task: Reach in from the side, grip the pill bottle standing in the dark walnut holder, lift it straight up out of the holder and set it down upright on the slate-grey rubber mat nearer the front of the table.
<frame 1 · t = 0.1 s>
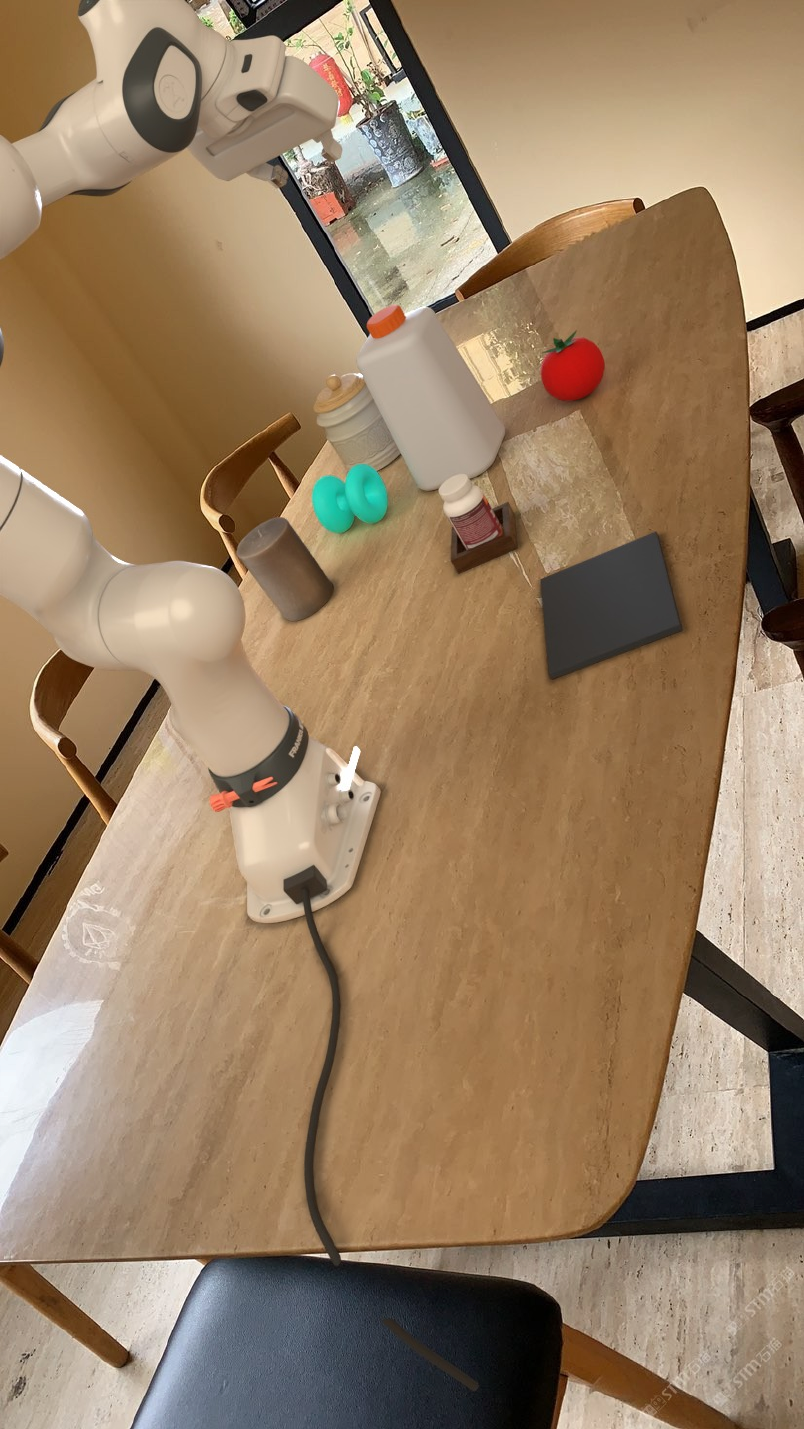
hand: (309, 169, 125), 54 cm above the table, tool tilted 30°, fingers open, 8 cm apart
jar: (379, 457, 196), on the table
tomato: (584, 395, 172), on the table
pill bottle: (487, 544, 153), resting in holder
holder: (487, 543, 153), on the table
plastic bottle: (464, 462, 176), on the table
mat: (607, 605, 128), on the table
pillar candle: (309, 602, 169), on the table
teal spool: (365, 522, 179), on the table
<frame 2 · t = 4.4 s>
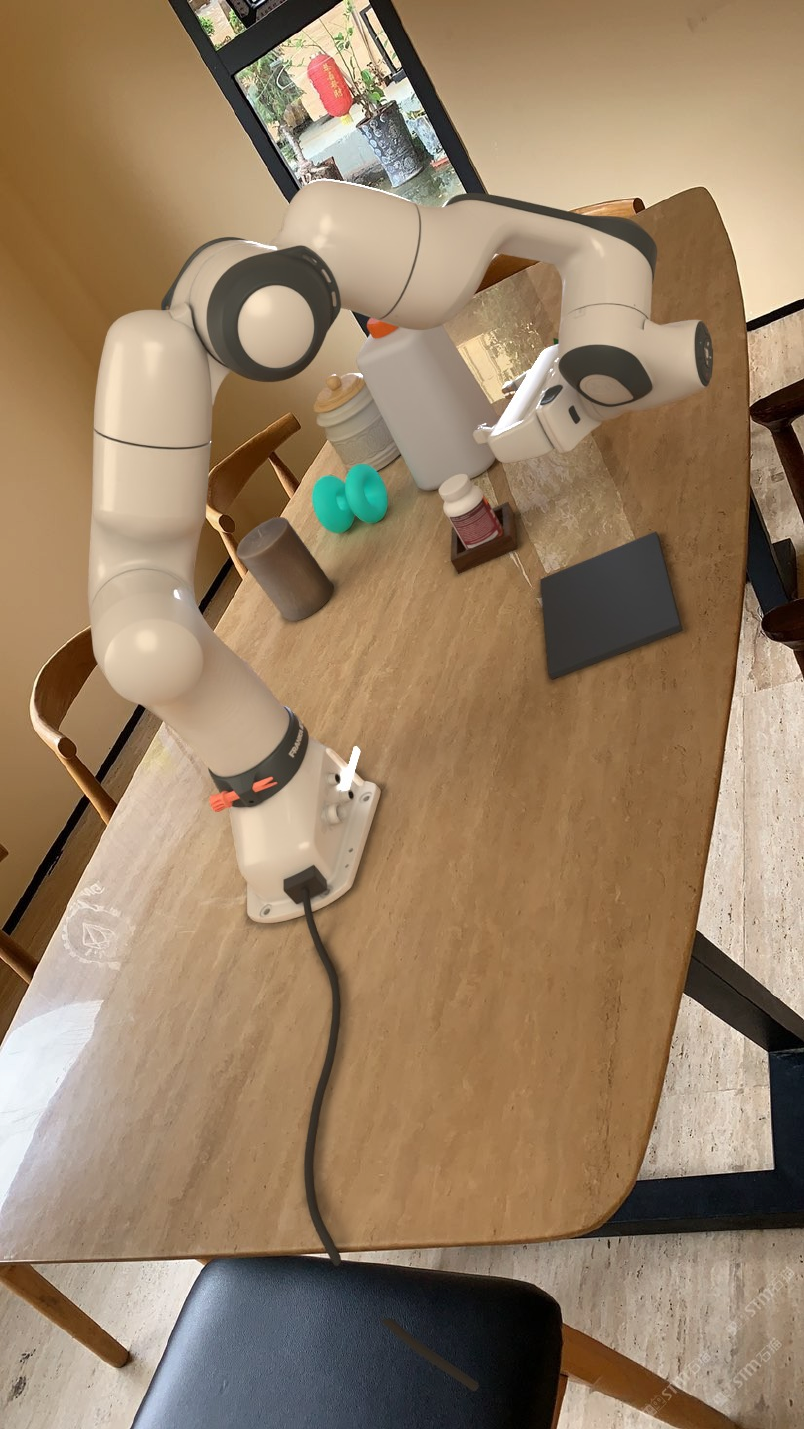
hand: (491, 413, 134), 20 cm above the table, tool horizontal, fingers open, 8 cm apart
nothing on the table moved.
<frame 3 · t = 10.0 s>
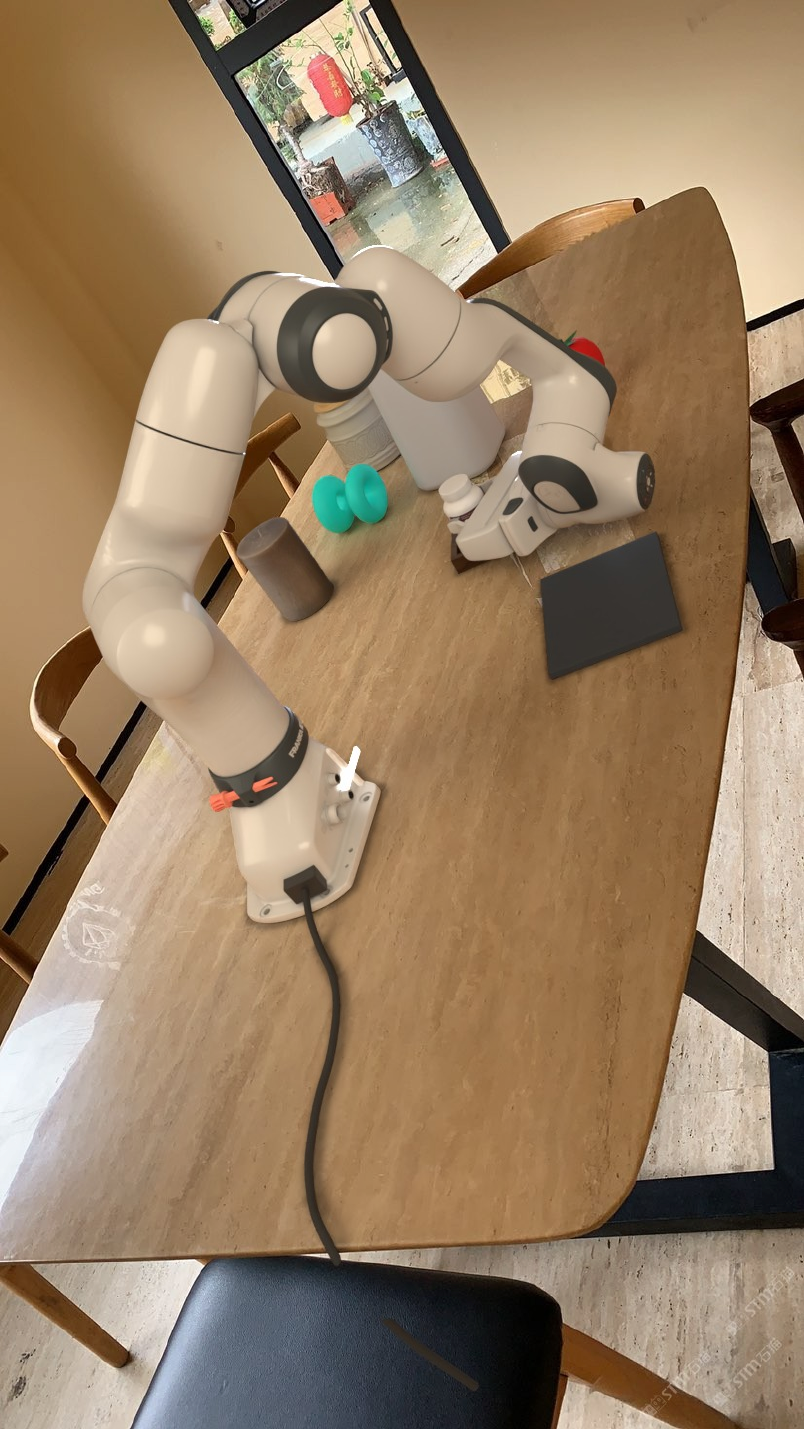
hand: (462, 509, 150), 7 cm above the table, tool horizontal, fingers closed on pill bottle, 6 cm apart
pill bottle: (487, 544, 153), resting in holder, touching gripper
everything else where it was.
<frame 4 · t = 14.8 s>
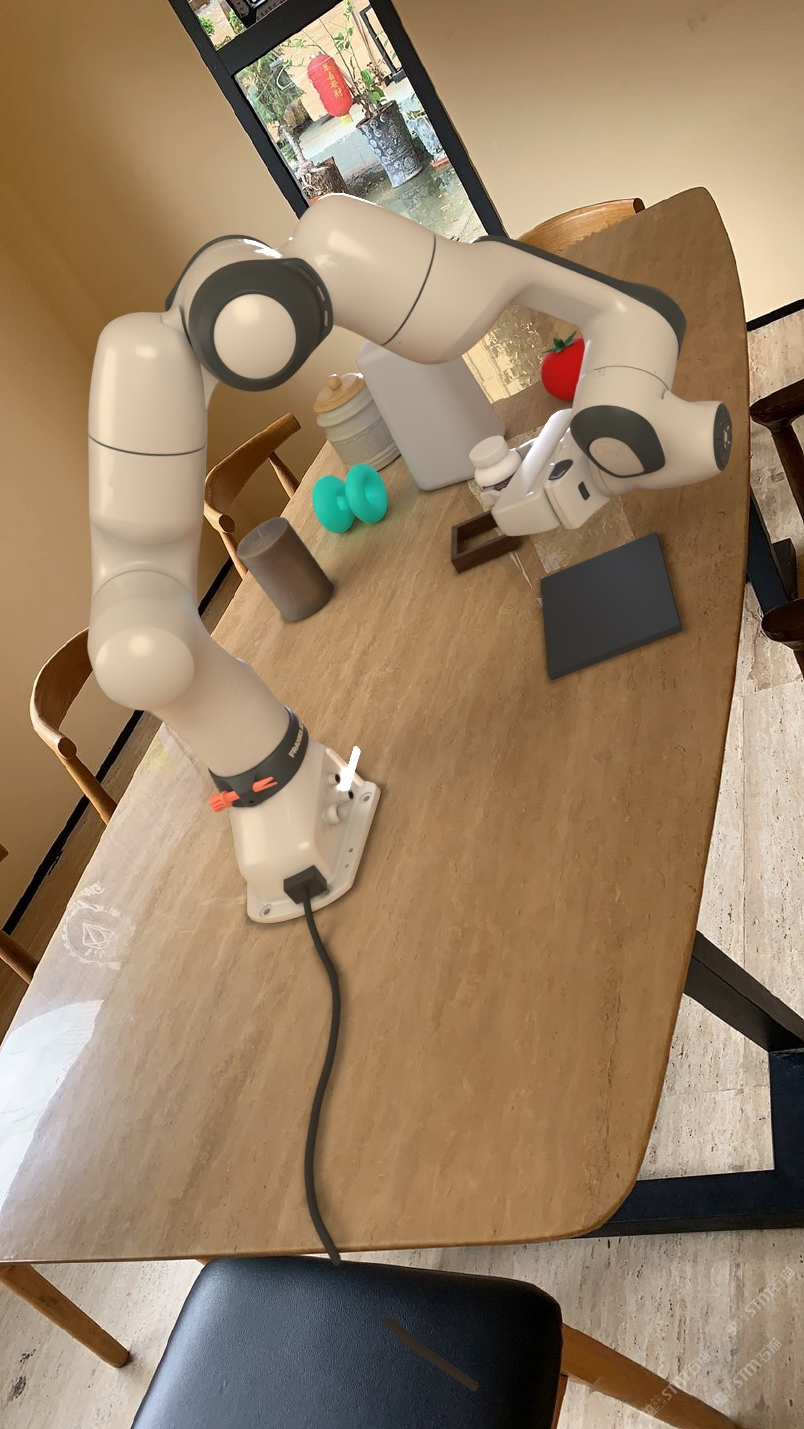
hand: (496, 477, 128), 17 cm above the table, tool horizontal, fingers closed on pill bottle, 6 cm apart
pill bottle: (525, 519, 131), point 10 cm above the table, touching gripper
everything else where it was.
when the fingers open (8 cm above the table, at t = 19.4 s): pill bottle stays where it is, resting on mat.
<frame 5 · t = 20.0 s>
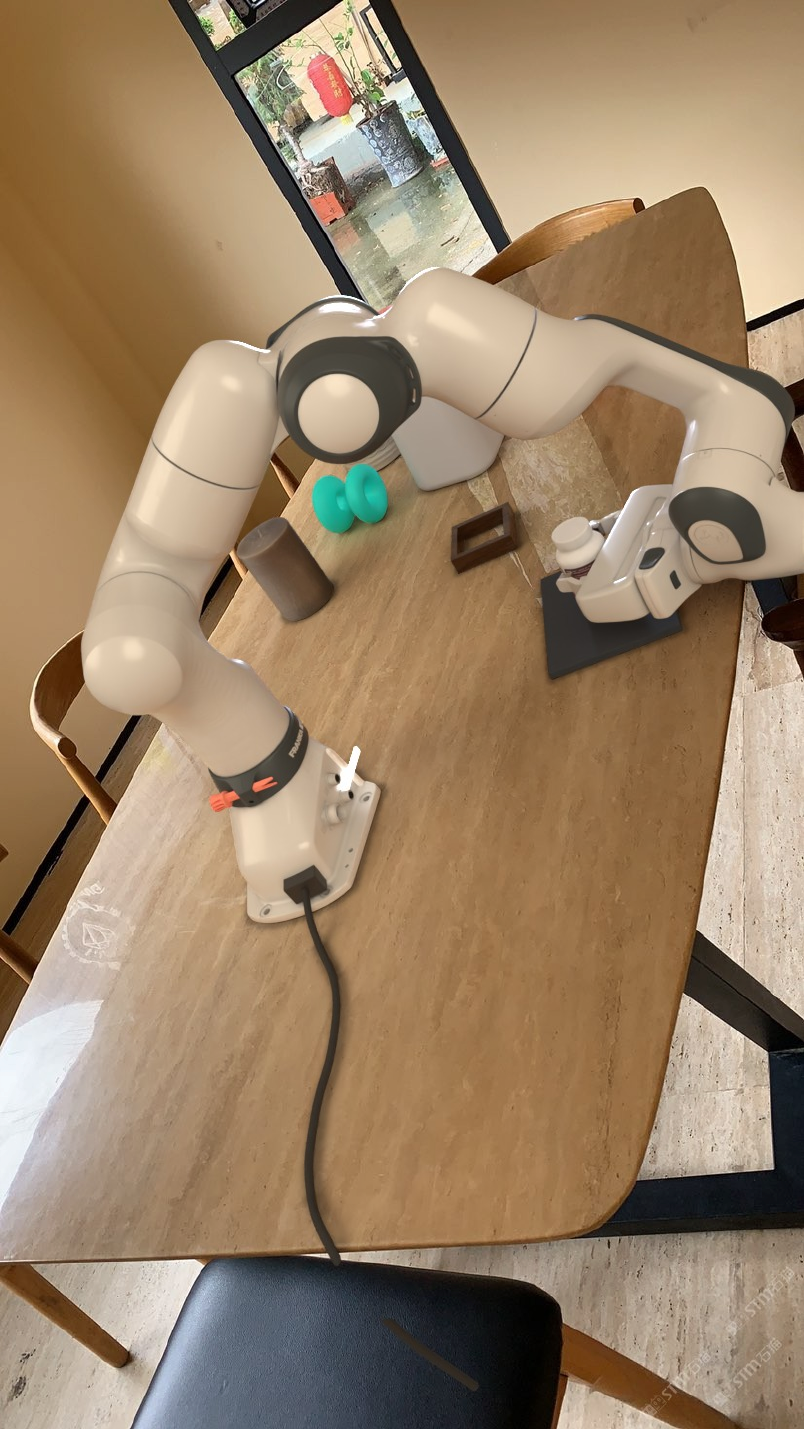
hand: (575, 556, 124), 8 cm above the table, tool horizontal, fingers open, 8 cm apart
pill bottle: (605, 600, 127), point 1 cm above the table, touching mat
everything else where it was.
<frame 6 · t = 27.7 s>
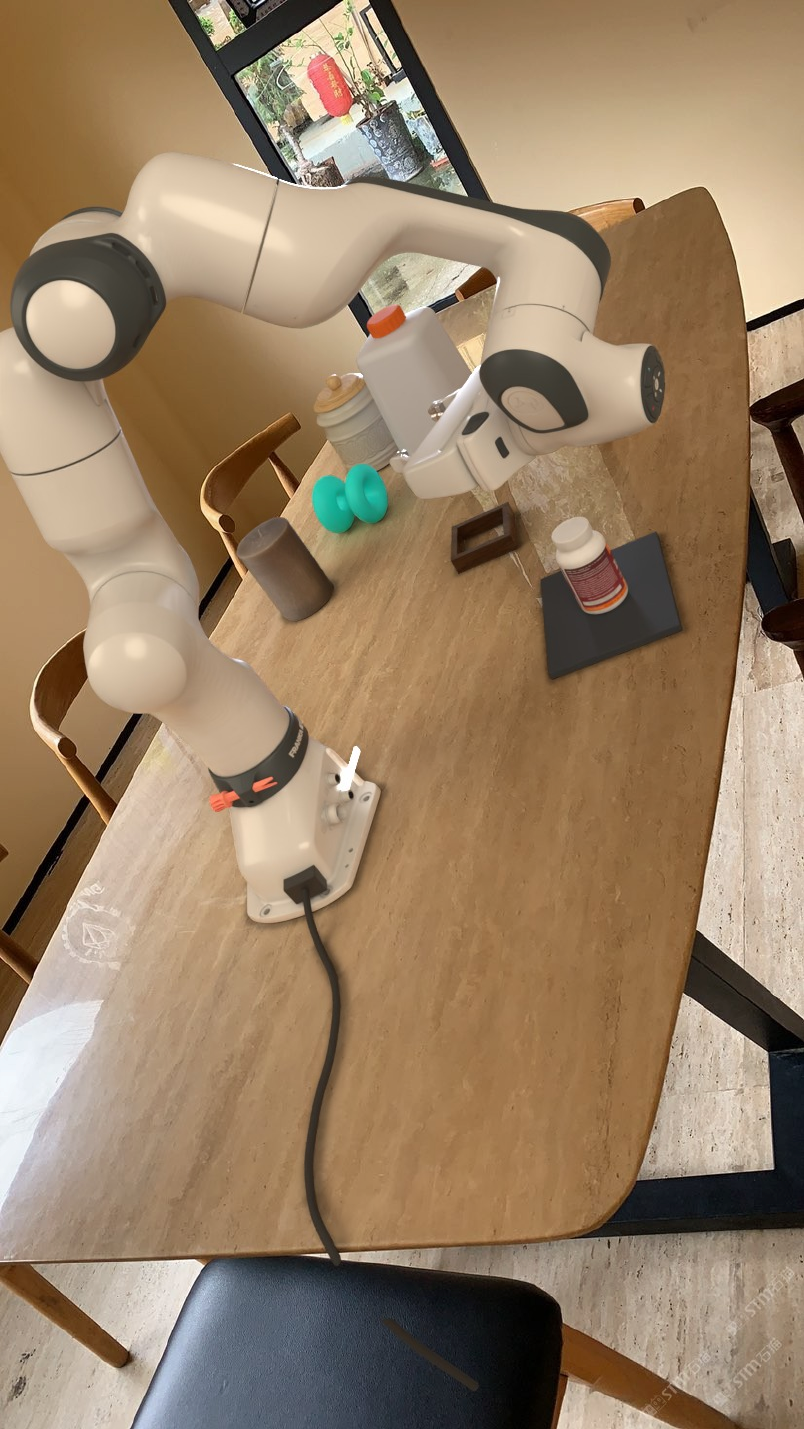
hand: (414, 437, 116), 30 cm above the table, tool horizontal, fingers open, 8 cm apart
nothing on the table moved.
at the end: pill bottle inside the target area on the mat (0.1 cm from its centre), point 0.8 cm above the mat's base; pill bottle tilted 0°; the gripper is holding nothing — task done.
